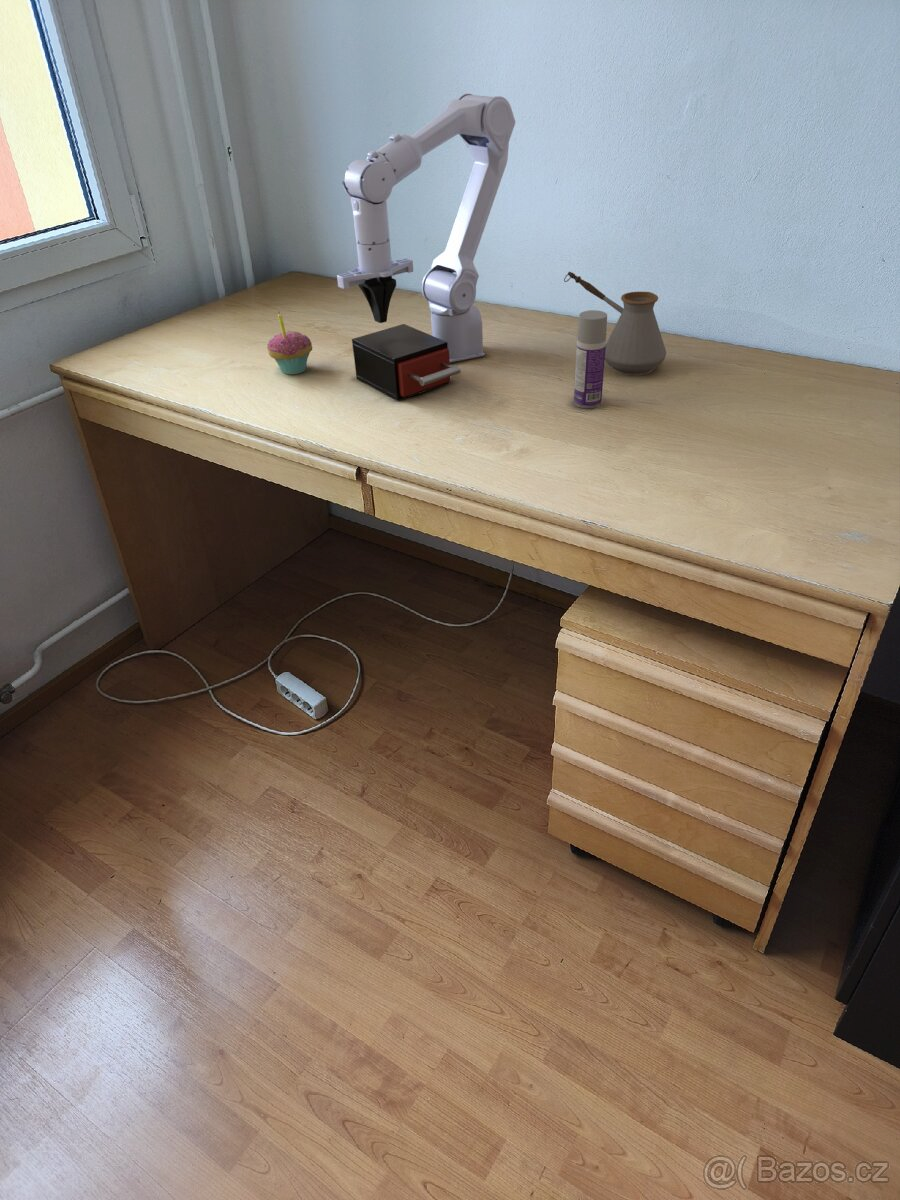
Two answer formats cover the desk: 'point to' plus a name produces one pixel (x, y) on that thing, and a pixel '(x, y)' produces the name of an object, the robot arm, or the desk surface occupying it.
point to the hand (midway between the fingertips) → (380, 321)
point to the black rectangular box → (390, 356)
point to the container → (590, 359)
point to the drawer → (425, 372)
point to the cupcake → (290, 350)
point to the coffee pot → (632, 332)
